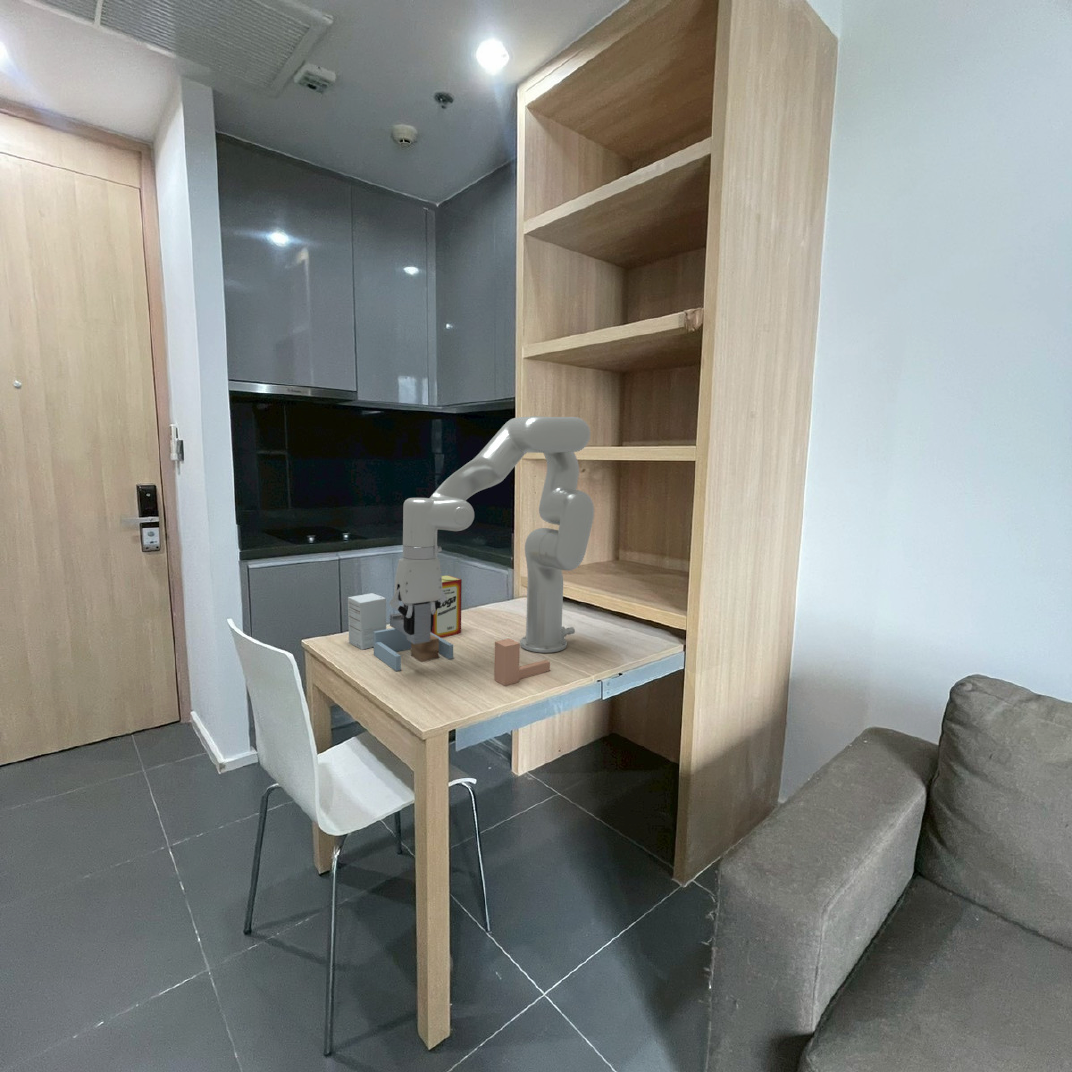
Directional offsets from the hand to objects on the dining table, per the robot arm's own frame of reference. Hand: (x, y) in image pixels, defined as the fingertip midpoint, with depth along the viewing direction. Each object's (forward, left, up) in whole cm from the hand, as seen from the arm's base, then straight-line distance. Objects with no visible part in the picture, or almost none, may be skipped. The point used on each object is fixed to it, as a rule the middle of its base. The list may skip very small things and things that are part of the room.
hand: (418, 630), depth 128 cm
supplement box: (+2, -25, -10) cm, 27 cm away
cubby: (-4, -10, -10) cm, 15 cm away
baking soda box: (-18, -22, -10) cm, 30 cm away
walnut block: (-6, -8, -10) cm, 14 cm away
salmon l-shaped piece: (-19, +16, -10) cm, 26 cm away
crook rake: (-3, -6, -2) cm, 7 cm away
